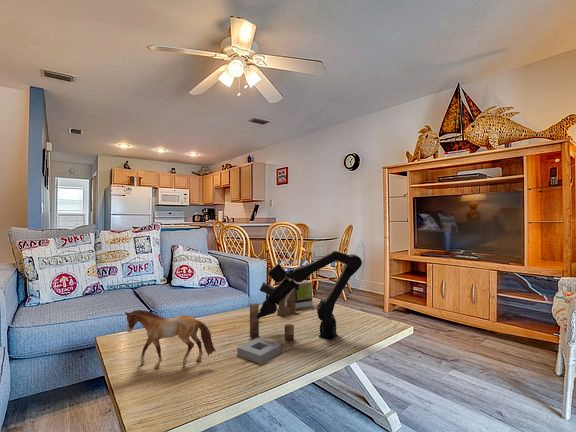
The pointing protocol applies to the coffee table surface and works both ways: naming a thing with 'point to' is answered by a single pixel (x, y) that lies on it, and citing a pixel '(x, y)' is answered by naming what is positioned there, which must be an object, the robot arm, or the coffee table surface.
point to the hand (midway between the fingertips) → (258, 314)
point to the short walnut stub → (289, 332)
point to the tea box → (303, 295)
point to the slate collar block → (259, 350)
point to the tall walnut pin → (254, 320)
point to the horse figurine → (170, 332)
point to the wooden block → (290, 304)
